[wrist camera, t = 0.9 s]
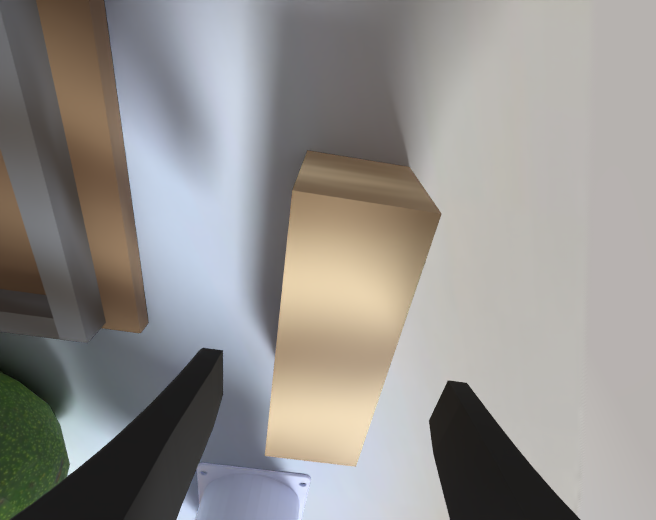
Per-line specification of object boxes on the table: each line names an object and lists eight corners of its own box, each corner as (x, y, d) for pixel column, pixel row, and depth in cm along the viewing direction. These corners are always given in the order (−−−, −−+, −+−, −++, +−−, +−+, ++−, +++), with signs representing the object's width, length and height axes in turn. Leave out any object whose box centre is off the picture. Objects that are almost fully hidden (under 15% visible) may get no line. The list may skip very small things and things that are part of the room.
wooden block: (352, 376, 19) (355, 466, 15) (281, 367, 19) (264, 455, 15) (408, 165, 13) (441, 213, 9) (307, 149, 13) (292, 190, 9)
